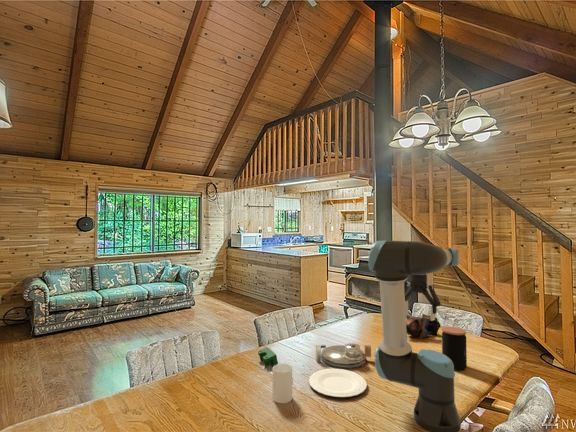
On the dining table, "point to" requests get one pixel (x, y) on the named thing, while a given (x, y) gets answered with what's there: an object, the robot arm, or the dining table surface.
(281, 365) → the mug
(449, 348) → the coffee jar
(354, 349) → the cover
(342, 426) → the dining table surface
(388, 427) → the dining table surface
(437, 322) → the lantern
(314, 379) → the plate
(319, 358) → the turntable base
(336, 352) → the turntable
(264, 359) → the clamp
